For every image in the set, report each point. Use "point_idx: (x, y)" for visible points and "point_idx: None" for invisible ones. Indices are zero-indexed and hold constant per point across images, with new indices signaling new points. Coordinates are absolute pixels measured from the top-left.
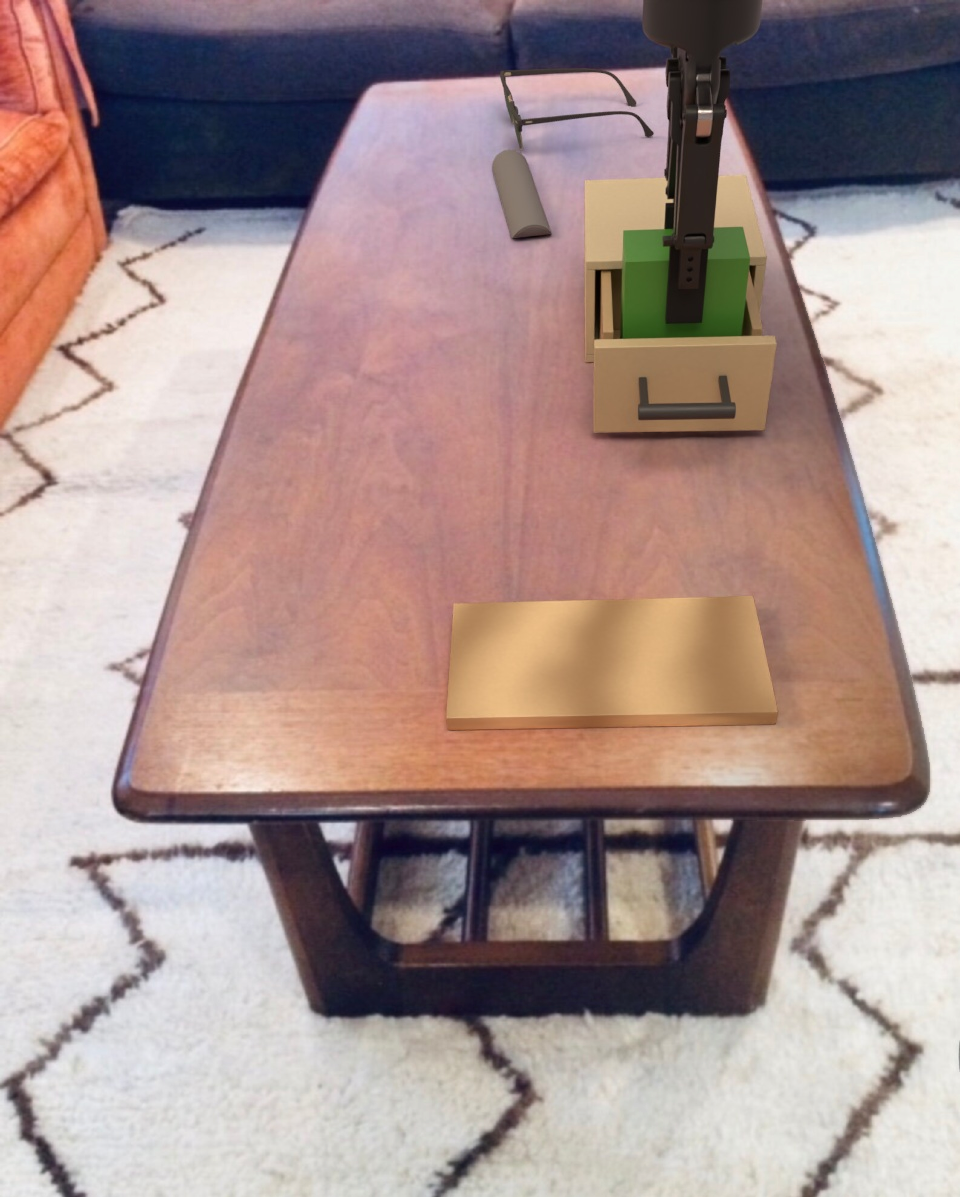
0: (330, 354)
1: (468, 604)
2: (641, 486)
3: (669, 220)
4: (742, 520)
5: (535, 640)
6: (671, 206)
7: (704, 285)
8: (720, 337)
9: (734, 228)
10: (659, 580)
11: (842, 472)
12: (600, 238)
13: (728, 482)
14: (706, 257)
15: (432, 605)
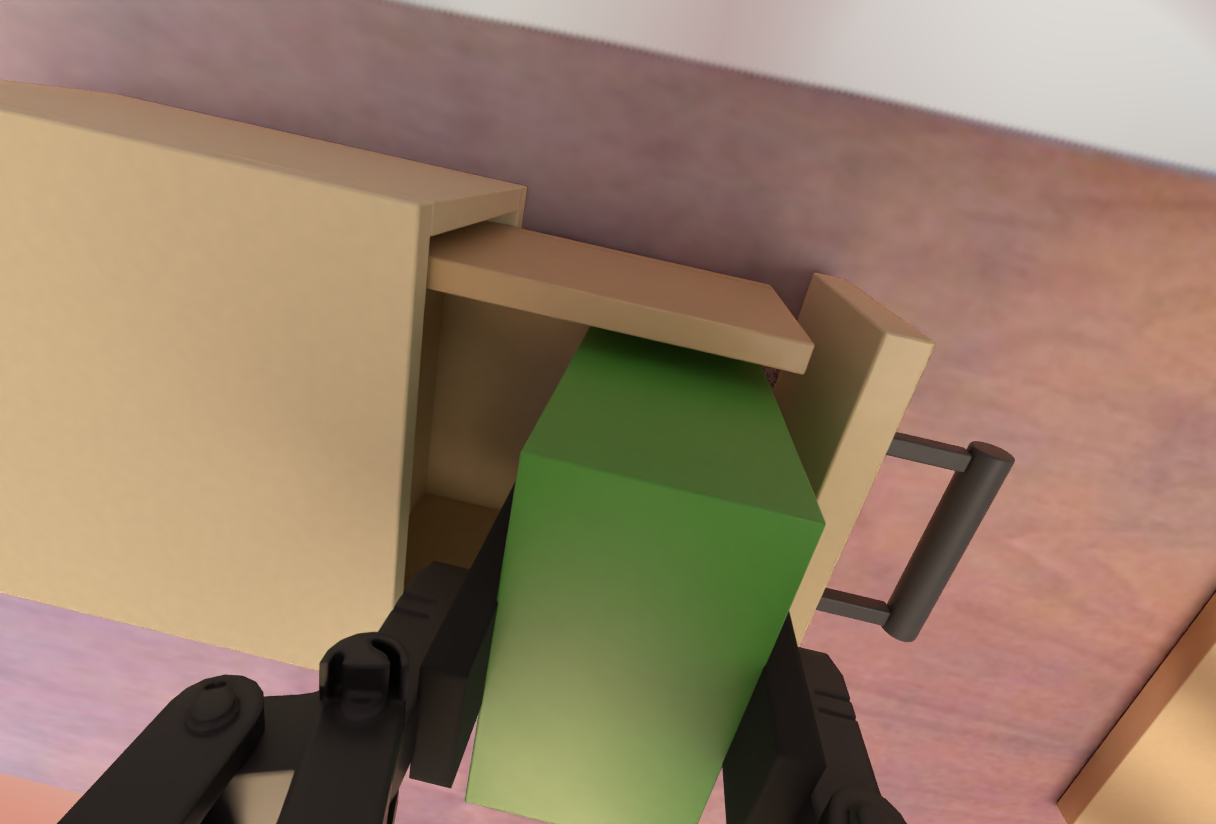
0: (404, 813)
1: (1082, 815)
2: (888, 531)
3: (472, 724)
4: (1070, 401)
5: (1209, 771)
6: (444, 770)
7: (788, 612)
8: (830, 483)
9: (535, 492)
10: (1142, 573)
11: (1029, 137)
12: (263, 628)
13: (946, 388)
14: (808, 702)
15: (1019, 817)
